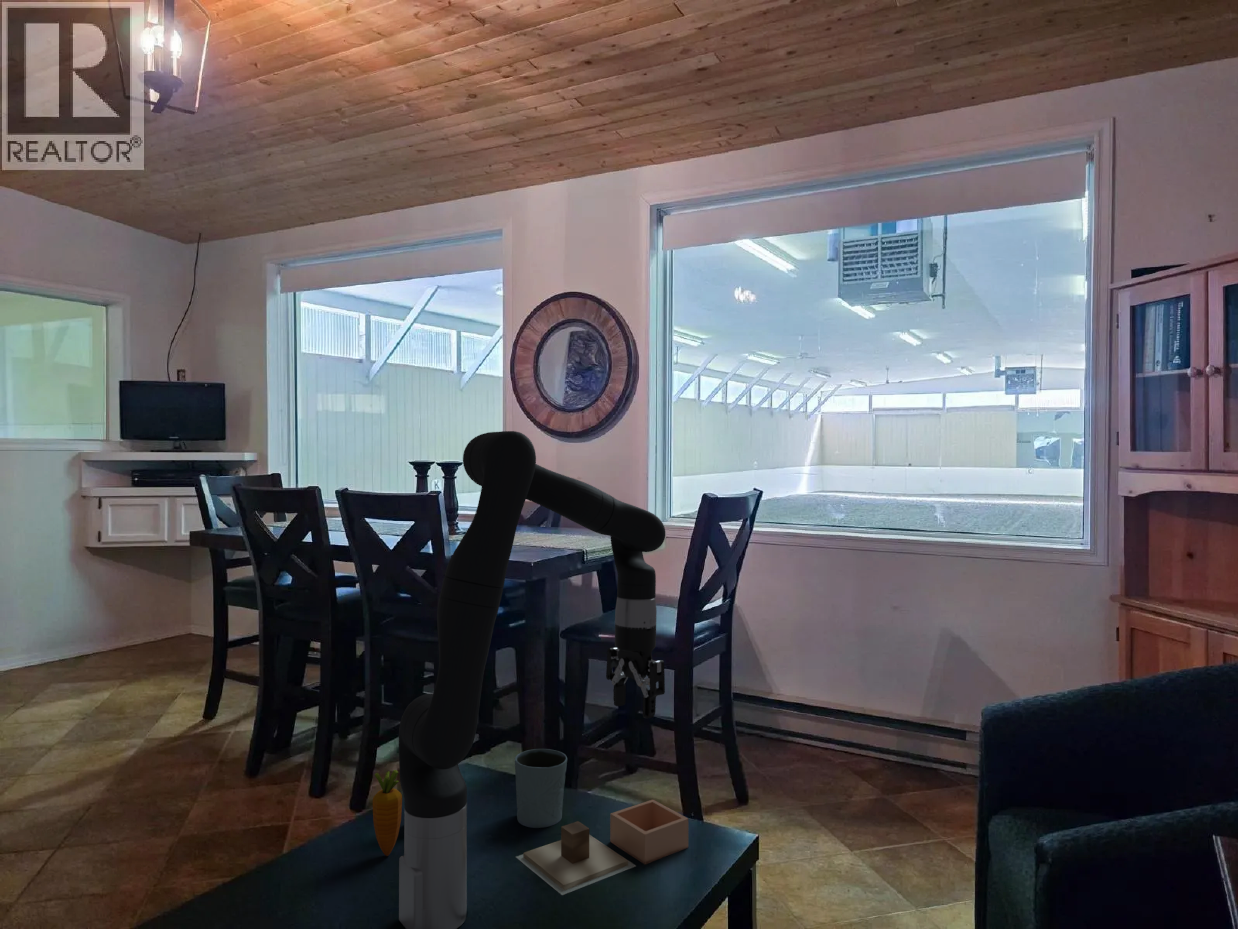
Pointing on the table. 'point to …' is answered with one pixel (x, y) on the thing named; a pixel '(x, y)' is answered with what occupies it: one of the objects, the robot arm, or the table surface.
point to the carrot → (387, 812)
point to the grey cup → (540, 787)
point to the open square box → (649, 831)
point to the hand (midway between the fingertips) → (633, 711)
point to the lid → (574, 857)
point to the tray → (562, 892)
